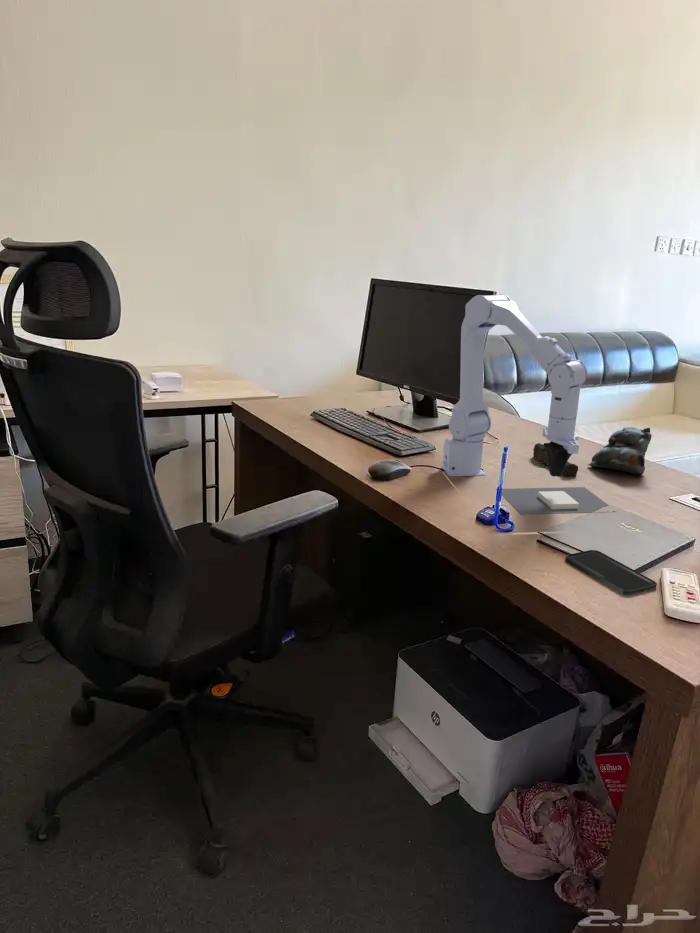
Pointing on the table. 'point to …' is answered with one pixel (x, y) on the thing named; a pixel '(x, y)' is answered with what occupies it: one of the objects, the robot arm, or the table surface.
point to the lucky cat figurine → (624, 451)
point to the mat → (532, 504)
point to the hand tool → (541, 456)
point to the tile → (558, 500)
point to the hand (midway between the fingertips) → (555, 475)
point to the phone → (611, 572)
